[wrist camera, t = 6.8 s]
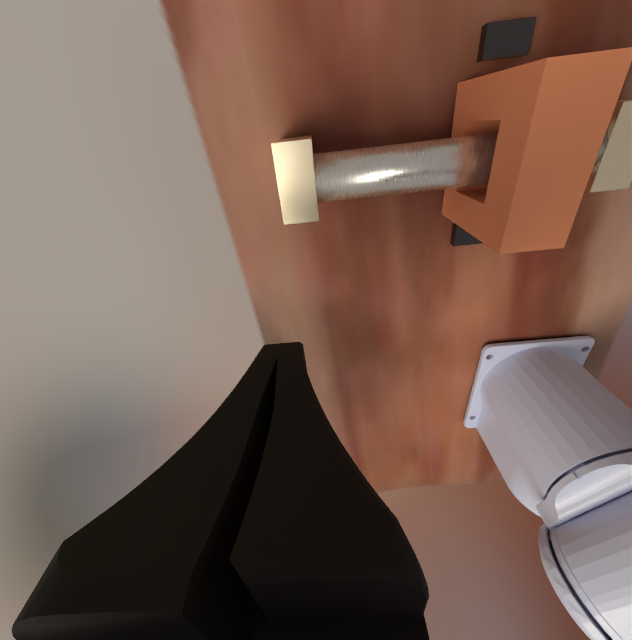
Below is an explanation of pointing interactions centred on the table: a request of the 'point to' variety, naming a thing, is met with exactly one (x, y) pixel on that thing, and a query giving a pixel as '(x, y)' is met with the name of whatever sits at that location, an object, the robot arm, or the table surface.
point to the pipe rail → (430, 154)
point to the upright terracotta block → (535, 146)
